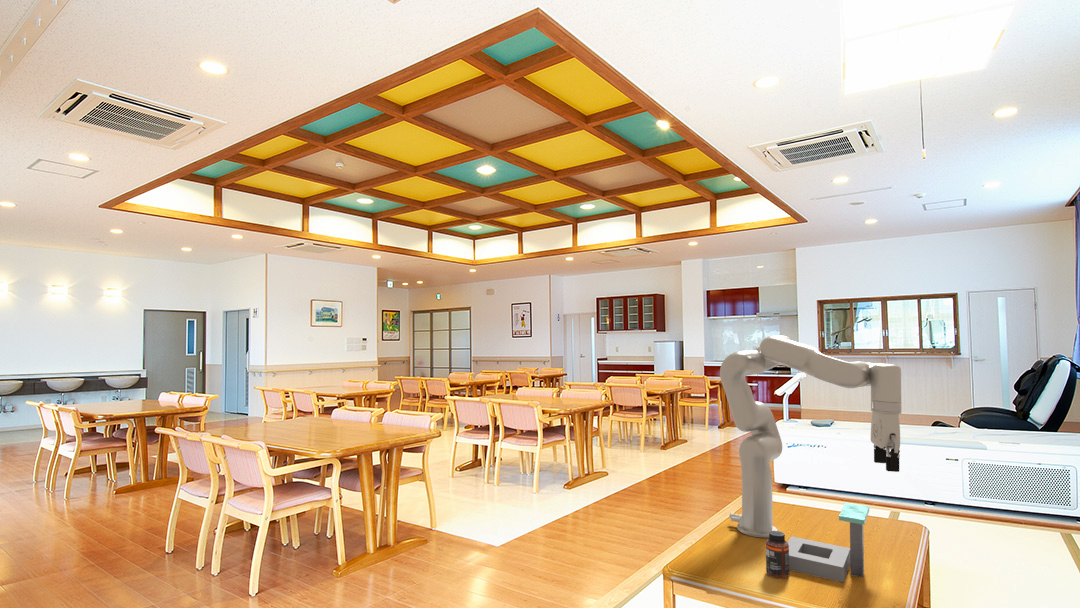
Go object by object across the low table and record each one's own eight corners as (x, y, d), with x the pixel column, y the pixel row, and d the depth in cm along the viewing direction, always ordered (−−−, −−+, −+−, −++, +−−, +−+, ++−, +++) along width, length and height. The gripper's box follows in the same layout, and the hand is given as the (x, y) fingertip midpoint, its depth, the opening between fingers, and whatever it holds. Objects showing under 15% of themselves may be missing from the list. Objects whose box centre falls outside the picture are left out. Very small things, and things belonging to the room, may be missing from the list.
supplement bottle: (788, 571, 159) (788, 530, 159) (790, 580, 153) (790, 538, 154) (765, 568, 161) (765, 528, 161) (766, 577, 155) (766, 535, 156)
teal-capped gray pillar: (839, 580, 154) (838, 515, 154) (846, 562, 165) (845, 502, 166) (865, 586, 150) (864, 520, 151) (869, 567, 162) (869, 506, 162)
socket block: (779, 567, 161) (779, 553, 162) (791, 549, 175) (791, 536, 175) (843, 582, 152) (843, 567, 152) (850, 562, 166) (850, 548, 166)
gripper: (862, 402, 173) (862, 459, 173) (882, 410, 157) (882, 473, 156) (889, 403, 172) (889, 460, 171) (912, 412, 155) (913, 475, 154)
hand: (886, 466), depth 164 cm, fingers open, 9 cm apart
